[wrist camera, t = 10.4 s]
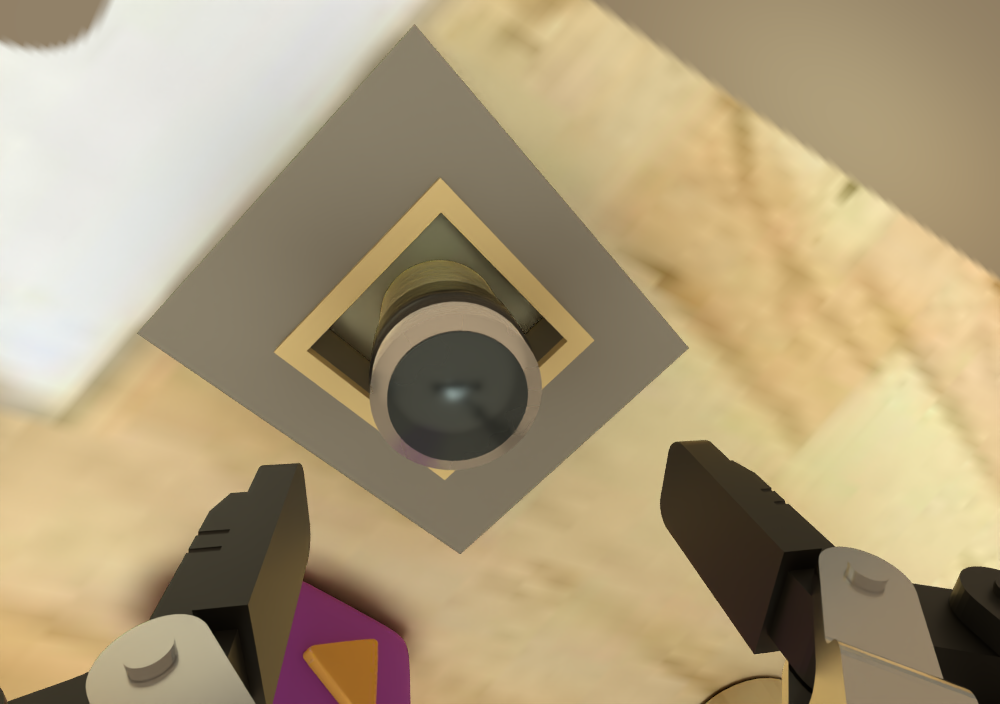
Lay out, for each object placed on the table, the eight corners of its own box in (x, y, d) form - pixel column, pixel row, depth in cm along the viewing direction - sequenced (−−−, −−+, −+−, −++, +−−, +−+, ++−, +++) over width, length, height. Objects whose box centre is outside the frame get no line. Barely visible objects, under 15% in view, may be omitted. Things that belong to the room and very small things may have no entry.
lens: (524, 316, 24) (581, 393, 16) (441, 395, 24) (459, 506, 17) (439, 230, 21) (459, 273, 14) (351, 320, 22) (325, 406, 15)
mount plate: (657, 326, 25) (695, 352, 22) (454, 512, 27) (461, 562, 24) (412, 42, 19) (414, 20, 16) (171, 309, 21) (129, 338, 17)
